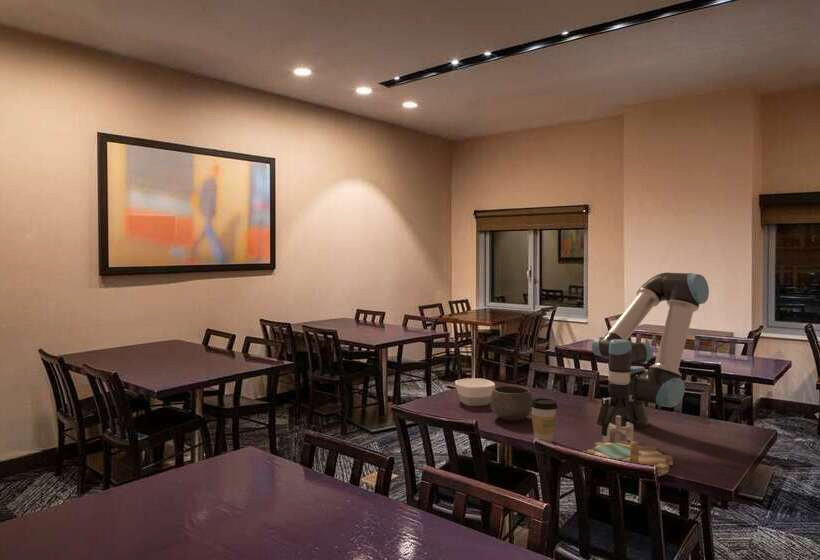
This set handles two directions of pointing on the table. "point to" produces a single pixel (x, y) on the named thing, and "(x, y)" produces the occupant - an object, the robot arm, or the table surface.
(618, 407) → the robot arm
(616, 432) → the light wooden cross
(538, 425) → the coffee cup
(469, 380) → the bowl
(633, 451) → the sprocket
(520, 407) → the bowl
